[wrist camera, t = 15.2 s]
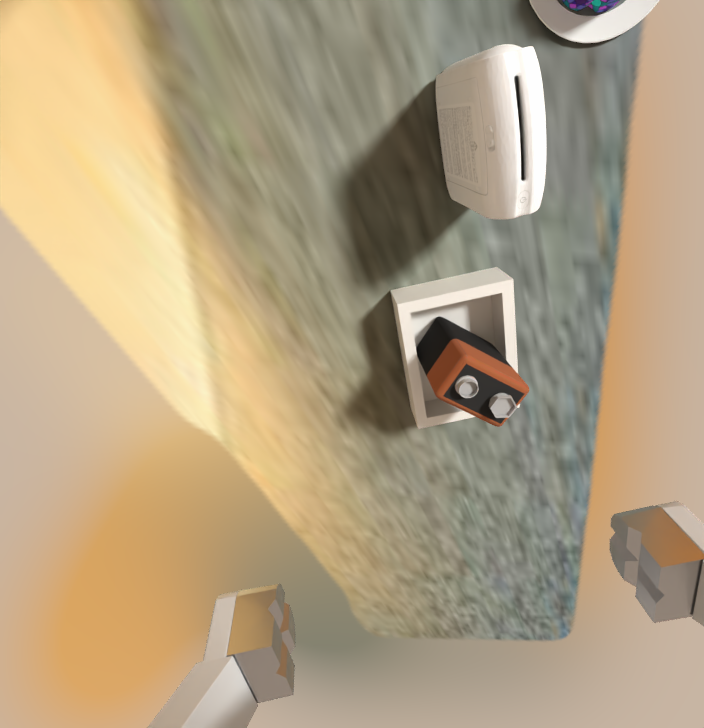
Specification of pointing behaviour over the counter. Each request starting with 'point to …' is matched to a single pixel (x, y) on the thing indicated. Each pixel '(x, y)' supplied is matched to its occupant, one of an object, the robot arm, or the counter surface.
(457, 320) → the trough
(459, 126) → the photo printer
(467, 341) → the battery
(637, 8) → the pudding
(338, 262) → the counter surface
